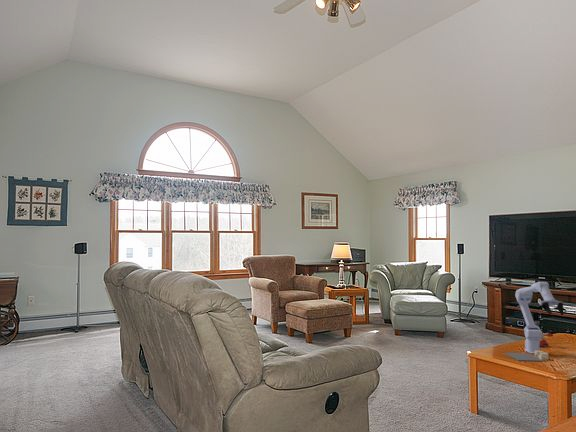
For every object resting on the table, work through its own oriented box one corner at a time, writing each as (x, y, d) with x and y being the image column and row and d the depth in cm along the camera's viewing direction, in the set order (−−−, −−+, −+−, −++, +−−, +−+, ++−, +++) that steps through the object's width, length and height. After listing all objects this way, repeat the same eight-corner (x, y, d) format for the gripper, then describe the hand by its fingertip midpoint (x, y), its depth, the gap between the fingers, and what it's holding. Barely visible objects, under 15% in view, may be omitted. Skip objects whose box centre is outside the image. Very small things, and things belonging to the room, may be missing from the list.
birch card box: (534, 356, 298) (534, 350, 298) (541, 356, 298) (541, 350, 298) (541, 359, 290) (541, 353, 290) (548, 360, 290) (548, 353, 290)
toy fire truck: (533, 345, 329) (533, 332, 330) (549, 345, 332) (549, 332, 332) (536, 347, 326) (536, 333, 327) (553, 346, 329) (553, 333, 329)
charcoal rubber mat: (504, 353, 303) (504, 352, 303) (527, 354, 303) (527, 353, 303) (517, 360, 285) (517, 359, 285) (543, 361, 285) (543, 360, 285)
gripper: (539, 292, 291) (547, 309, 281) (561, 293, 291) (571, 310, 281) (534, 299, 296) (543, 316, 285) (557, 300, 295) (566, 317, 285)
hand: (556, 313), depth 283 cm, fingers open, 7 cm apart
